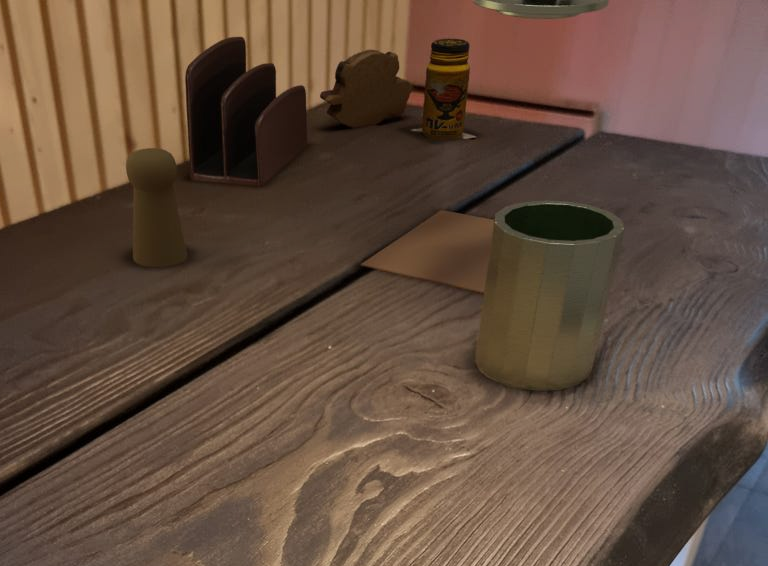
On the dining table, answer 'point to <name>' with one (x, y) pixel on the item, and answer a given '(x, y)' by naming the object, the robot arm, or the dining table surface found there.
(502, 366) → the green cylindrical container
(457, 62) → the condiment
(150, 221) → the pepper shaker
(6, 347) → the dining table surface
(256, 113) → the letter holder
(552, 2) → the lid
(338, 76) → the wooden carving
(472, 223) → the cork mat
